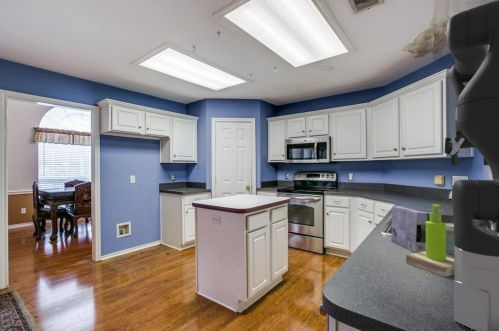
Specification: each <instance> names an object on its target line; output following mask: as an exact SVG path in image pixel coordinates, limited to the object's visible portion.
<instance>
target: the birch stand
mask: <svg viewBox="0 0 499 331" xmlns="http://www.w3.org/2000/svg"><path fill="white" fill-rule="evenodd" d="M405 260H406V262H405V263H406V264H407V265H408V264H409V265H411V266H414V267H417V268H419V269H422V270H424V271H427V272H431V273H433V274H436V275H439V276H441V277H444V278H446V277H450V276H454V257H451V256H447V255H446V261H435V260H431V259H429V258H427V257H426V251H424V252H419V253H409V254H406V256H405Z"/></svg>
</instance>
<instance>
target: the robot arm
mask: <svg viewBox="0 0 499 331" xmlns="http://www.w3.org/2000/svg"><path fill="white" fill-rule="evenodd" d="M445 35H446V44H447V48H448V50H449V52H450V53H451V55H452V58H453V59H454V63H455V64H453V65H452V66H451V67H450V68H449V72H448V76H449V79H450V81H451V84H452V86H453V89H454V93H455V105H456V106H455V113H454V114H455V137H448V136H447V137H445V138H444V154H446V155H450V162H451V165H452V166H453V167H457V166H459V154H460V153H461V151H463V150H464V149H471V148H475V149H476V150H477V151H478V152H479V153H480V154H481V156H482V157H483V158H482V159H483V166H489V169H490V172H491V176H492V180H491V179H458V180H456V181H455V182H454V184H452V188H451V204H452V216H453V224H454V255H453V256H454V257H453V258H454V275H453V277H454V281H453V321H454V320H455V321H457V322H459V323H461V324H463V325H465V326H467V327H469V328H471V329H475V330H477V331H499V236H497V235H495V234H492V233H488V232H485V231H483V230H482V229H480V228H478V227H477V226H475V224H474V220H475V221H476V220H477V221H487V222H488V221H489V222H497V223H498V222H499V0H493V1H490V2H486V3H483V4H481V5H477V6H476V7H471V8H470V9H466V10H464V11H460V12H459V13H457V14H454V15H453V16H451V17H450V19H448V22H447V25H446V34H445ZM487 45H488V46H489V48H488V50H487V49H486V48H485V46H487ZM464 83H466V85H465V84H464ZM455 142H456V145H455V146H453V144H454V143H455Z"/></svg>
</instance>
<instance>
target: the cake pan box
mask: <svg viewBox="0 0 499 331" xmlns="http://www.w3.org/2000/svg"><path fill="white" fill-rule="evenodd" d="M391 211H392V212H391V231H390V233H391V234H390V240H391V242H394V243H395V244H398V245H399V246H401V247H403V248H405V249H407V250H409V251H411V252H412V253H413V252H414V253H419V252H424V251H426V221H428V213H426V212H422V211H419V210H417V209H416V210H415V209H412V208H407V207H404V206H401V205H393V206H392V210H391ZM414 253H413V254H414Z"/></svg>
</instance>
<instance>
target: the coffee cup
mask: <svg viewBox="0 0 499 331" xmlns="http://www.w3.org/2000/svg"><path fill="white" fill-rule="evenodd" d="M444 223H445V224H446V255H447V254H448V255H453V256H454V223H450V222H444Z"/></svg>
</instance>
